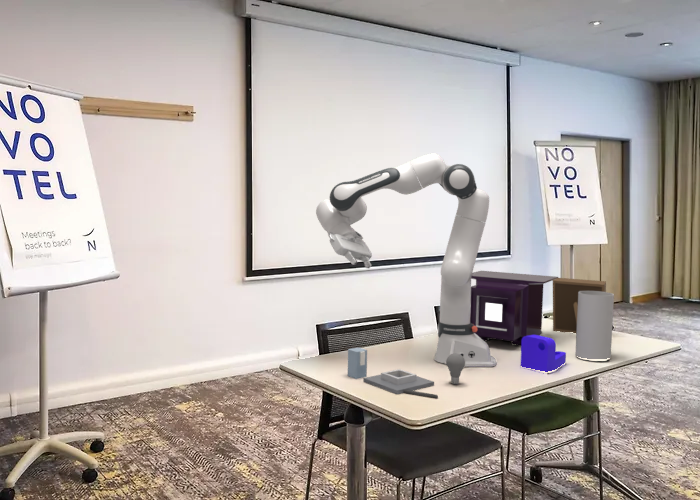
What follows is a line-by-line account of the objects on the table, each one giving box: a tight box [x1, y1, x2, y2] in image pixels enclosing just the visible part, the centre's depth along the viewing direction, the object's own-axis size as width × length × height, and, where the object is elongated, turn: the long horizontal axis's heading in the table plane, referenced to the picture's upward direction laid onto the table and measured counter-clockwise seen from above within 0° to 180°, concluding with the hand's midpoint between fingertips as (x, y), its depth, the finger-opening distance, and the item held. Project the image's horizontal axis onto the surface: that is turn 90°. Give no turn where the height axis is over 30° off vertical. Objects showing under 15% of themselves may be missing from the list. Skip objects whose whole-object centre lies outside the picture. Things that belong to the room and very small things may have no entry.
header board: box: [363, 368, 435, 395], centre depth 198 cm, size 16×16×3 cm
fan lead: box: [403, 390, 439, 399], centre depth 187 cm, size 11×1×1 cm, turn 63°
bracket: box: [520, 335, 567, 372], centre depth 222 cm, size 18×11×12 cm, turn 128°
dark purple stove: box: [470, 270, 559, 346], centre depth 263 cm, size 35×35×27 cm
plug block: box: [347, 346, 368, 380], centre depth 205 cm, size 4×5×9 cm
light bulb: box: [446, 353, 465, 385], centre depth 199 cm, size 6×6×10 cm
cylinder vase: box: [575, 291, 615, 359], centre depth 235 cm, size 12×12×25 cm
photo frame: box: [552, 277, 607, 334], centre depth 276 cm, size 15×22×25 cm
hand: (362, 265), depth 218 cm, fingers open, 8 cm apart
